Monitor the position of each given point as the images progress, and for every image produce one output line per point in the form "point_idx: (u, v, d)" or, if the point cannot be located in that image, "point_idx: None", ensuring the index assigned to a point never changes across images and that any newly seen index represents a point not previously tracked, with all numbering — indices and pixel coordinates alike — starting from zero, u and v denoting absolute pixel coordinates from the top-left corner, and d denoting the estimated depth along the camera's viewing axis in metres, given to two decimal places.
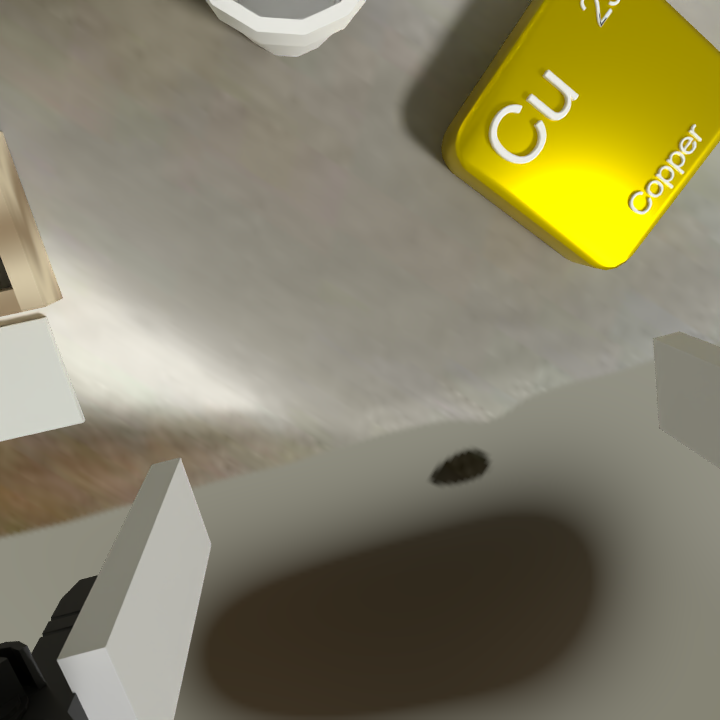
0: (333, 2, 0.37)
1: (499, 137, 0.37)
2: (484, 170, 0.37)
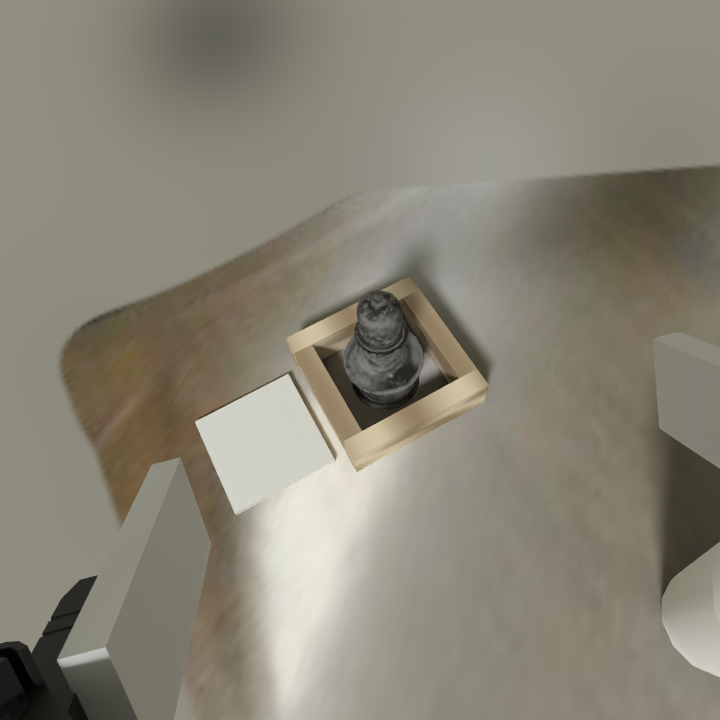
0: None
1: None
2: None
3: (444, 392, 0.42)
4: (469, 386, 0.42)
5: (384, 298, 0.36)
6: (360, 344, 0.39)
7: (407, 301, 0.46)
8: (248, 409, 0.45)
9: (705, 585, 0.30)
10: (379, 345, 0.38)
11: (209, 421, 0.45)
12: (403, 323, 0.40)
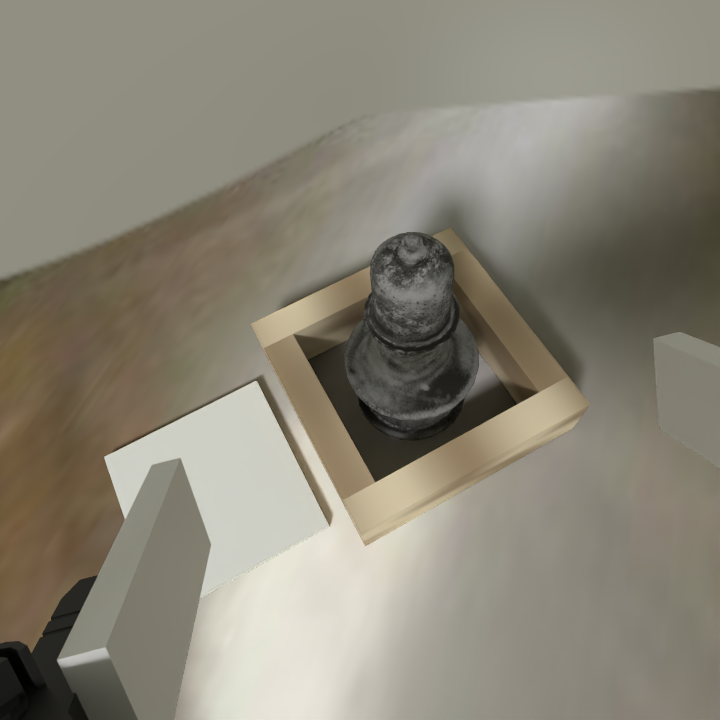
0: None
1: None
2: None
3: (514, 417, 0.25)
4: (557, 406, 0.25)
5: (423, 245, 0.19)
6: (375, 333, 0.22)
7: None
8: (190, 438, 0.28)
9: None
10: (411, 335, 0.21)
11: (127, 456, 0.28)
12: (451, 296, 0.22)
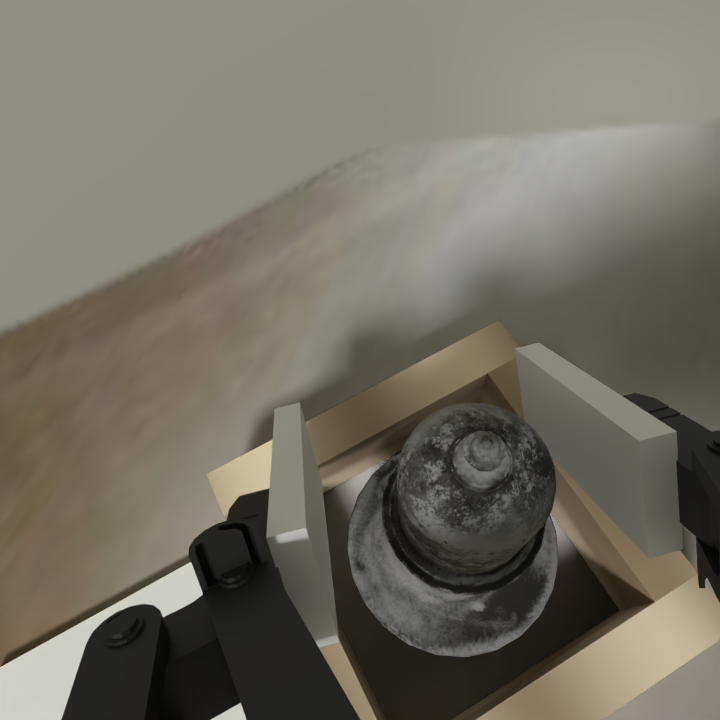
0: None
1: None
2: None
3: (620, 647, 0.16)
4: (686, 629, 0.16)
5: None
6: (402, 553, 0.13)
7: (498, 382, 0.19)
8: None
9: None
10: (467, 571, 0.12)
11: (22, 674, 0.19)
12: None
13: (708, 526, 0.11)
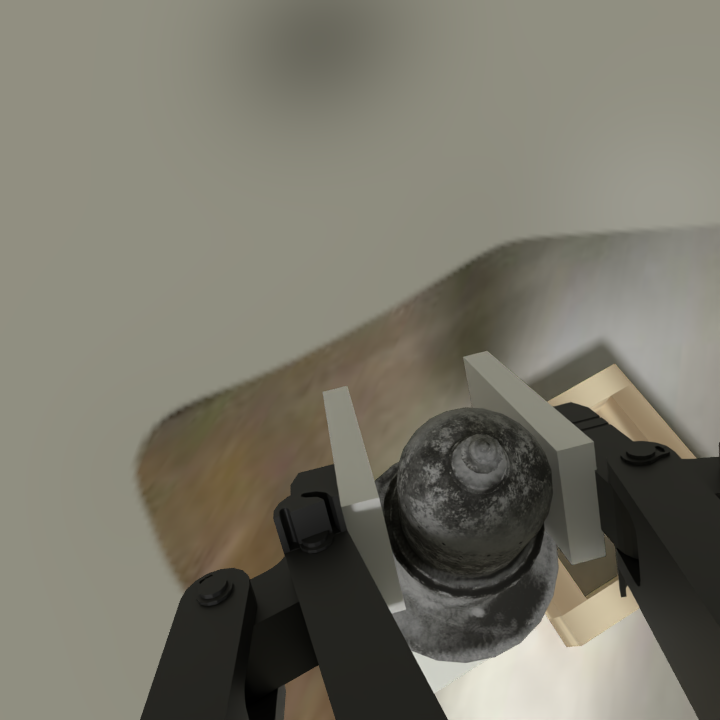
0: None
1: None
2: None
3: None
4: None
5: None
6: (402, 557, 0.13)
7: (618, 400, 0.33)
8: None
9: None
10: (466, 574, 0.12)
11: None
12: None
13: (626, 536, 0.11)
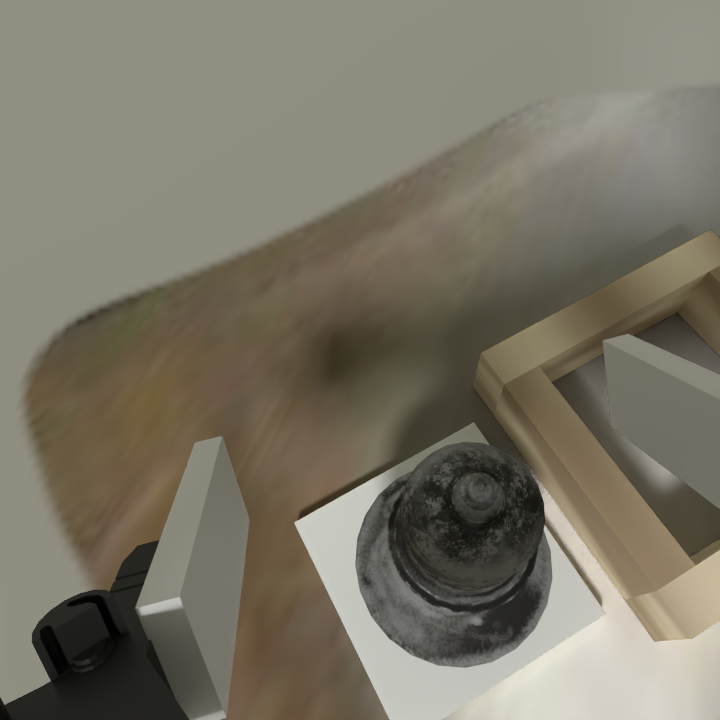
0: None
1: None
2: None
3: None
4: None
5: (496, 484, 0.11)
6: (406, 574, 0.14)
7: None
8: None
9: None
10: (465, 592, 0.13)
11: (325, 522, 0.22)
12: None
13: None
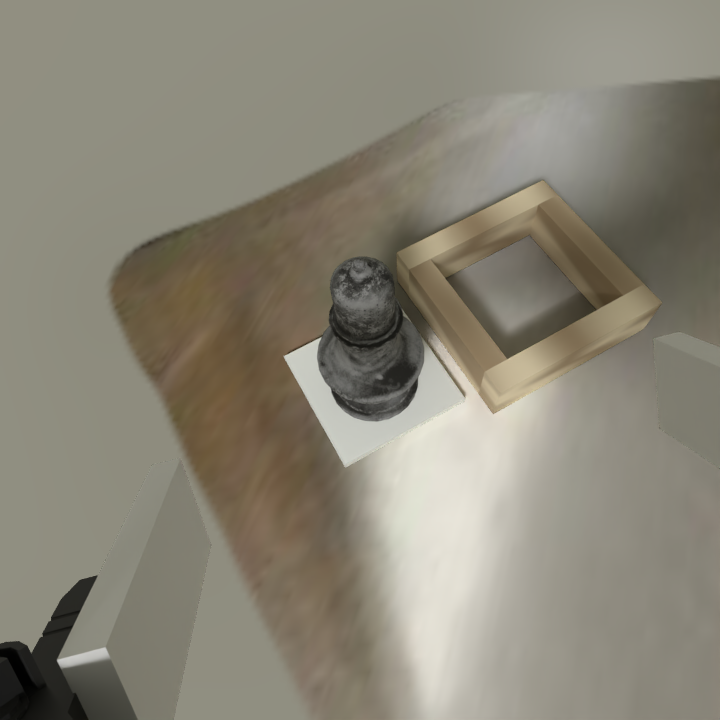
0: None
1: None
2: None
3: (606, 312, 0.33)
4: (637, 304, 0.33)
5: (369, 267, 0.25)
6: (337, 333, 0.28)
7: (544, 208, 0.37)
8: None
9: None
10: (363, 335, 0.27)
11: (302, 355, 0.36)
12: (397, 305, 0.29)
13: None
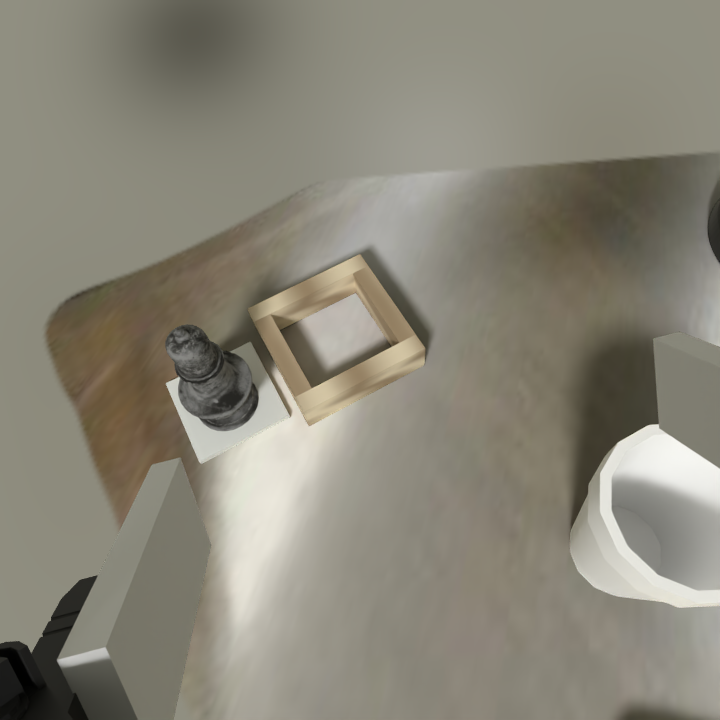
0: None
1: None
2: None
3: (385, 355, 0.47)
4: (408, 349, 0.47)
5: (188, 333, 0.39)
6: (178, 373, 0.42)
7: (356, 276, 0.51)
8: None
9: (587, 504, 0.35)
10: (192, 375, 0.41)
11: None
12: (220, 354, 0.43)
13: None
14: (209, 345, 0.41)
